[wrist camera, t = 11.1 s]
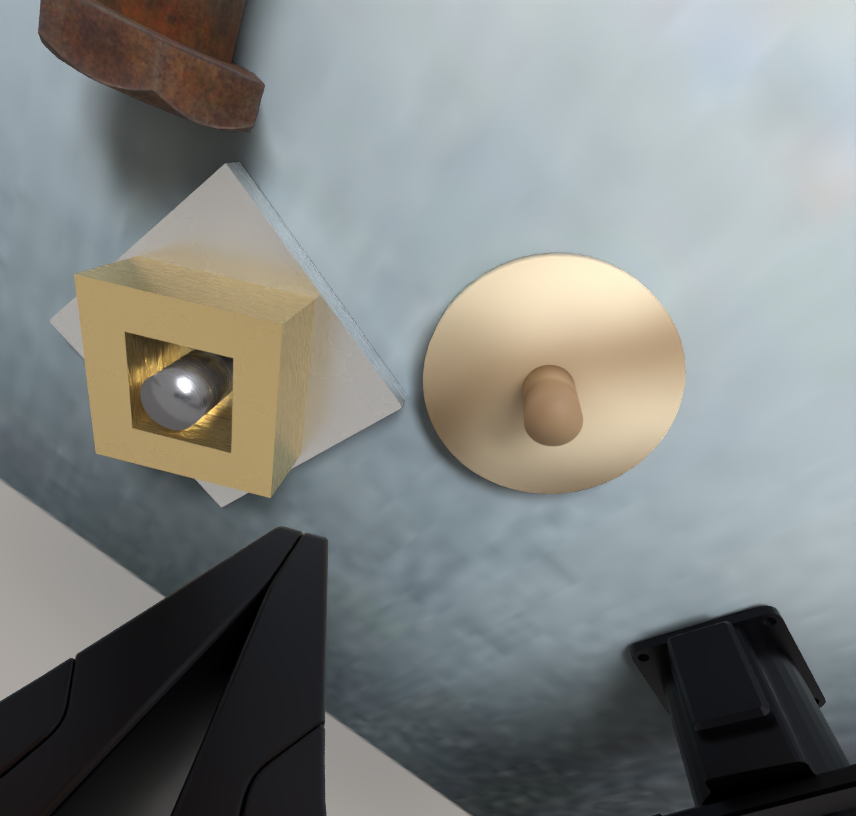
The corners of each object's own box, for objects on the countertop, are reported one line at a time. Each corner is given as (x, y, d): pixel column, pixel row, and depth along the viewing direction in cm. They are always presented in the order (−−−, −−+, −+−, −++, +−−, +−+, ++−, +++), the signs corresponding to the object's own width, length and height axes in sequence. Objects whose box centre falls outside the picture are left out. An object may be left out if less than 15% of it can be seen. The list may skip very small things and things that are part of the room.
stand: (717, 418, 19) (757, 470, 16) (502, 510, 22) (500, 569, 19) (606, 196, 16) (628, 208, 13) (380, 337, 20) (355, 373, 17)
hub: (407, 396, 21) (381, 456, 17) (231, 494, 24) (176, 563, 20) (240, 162, 18) (159, 166, 14) (68, 313, 21) (-35, 352, 17)
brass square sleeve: (301, 454, 21) (270, 497, 19) (147, 415, 22) (96, 453, 19) (316, 298, 18) (282, 324, 16) (137, 255, 19) (73, 273, 16)
